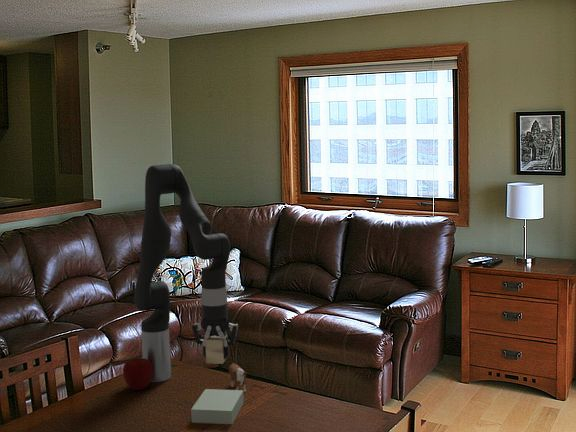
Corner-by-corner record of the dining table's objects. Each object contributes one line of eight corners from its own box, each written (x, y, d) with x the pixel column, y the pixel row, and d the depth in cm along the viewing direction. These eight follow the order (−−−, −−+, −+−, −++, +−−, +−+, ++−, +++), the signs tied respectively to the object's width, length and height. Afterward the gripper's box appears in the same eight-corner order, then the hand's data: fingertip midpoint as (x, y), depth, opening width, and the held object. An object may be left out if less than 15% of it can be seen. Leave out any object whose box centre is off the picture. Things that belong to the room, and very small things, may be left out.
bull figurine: (236, 397, 231) (235, 372, 230) (228, 383, 244) (227, 359, 243) (249, 396, 232) (249, 371, 231) (240, 381, 245) (240, 358, 244)
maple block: (210, 357, 220) (209, 335, 220) (226, 358, 220) (225, 335, 219) (206, 363, 216) (205, 340, 215) (222, 363, 215) (222, 340, 214)
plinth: (205, 401, 229) (205, 389, 228) (243, 402, 227) (243, 390, 226) (191, 422, 213) (191, 409, 212) (232, 424, 211) (231, 410, 211)
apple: (144, 395, 235) (143, 364, 234) (118, 392, 238) (116, 362, 237) (158, 384, 244) (157, 355, 243) (133, 382, 247) (131, 353, 246)
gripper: (241, 299, 218) (242, 354, 220) (194, 298, 220) (196, 353, 222) (235, 305, 211) (237, 362, 213) (187, 304, 213) (189, 361, 215)
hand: (216, 357), depth 218 cm, fingers closed on maple block, 5 cm apart
